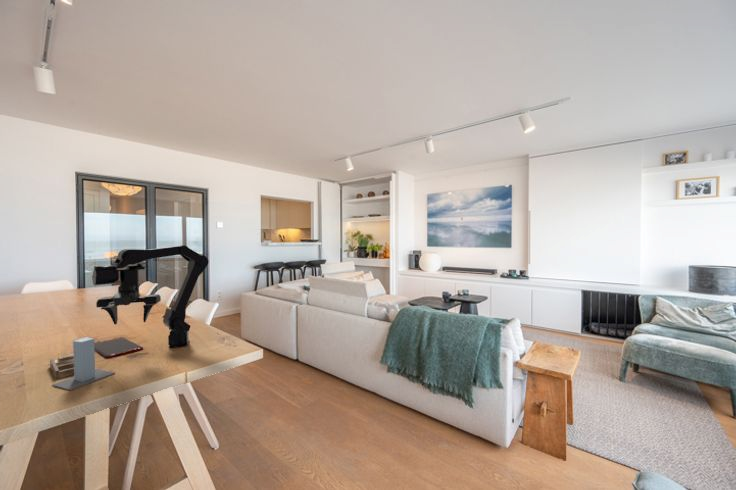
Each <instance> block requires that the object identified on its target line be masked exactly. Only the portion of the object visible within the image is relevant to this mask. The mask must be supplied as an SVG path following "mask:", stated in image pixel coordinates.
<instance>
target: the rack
mask: <svg viewBox="0 0 736 490" xmlns="http://www.w3.org/2000/svg"><path fill="white" fill-rule="evenodd" d="M55 360H58V358H56V359H53V358H52V359H50V361H49V363H50V364H49V367H50V369H51V371H52V373H53V376H54V378H55V379H56V380H57V379H61V378H65V377H69V376H72V375H73V376H74V362H73V363H68V364H64V365H60V366H57V365H56V363H55Z"/></svg>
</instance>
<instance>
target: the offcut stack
mask: <svg viewBox="0 0 736 490" xmlns="http://www.w3.org/2000/svg"><path fill="white" fill-rule="evenodd" d="M57 359H58V360H57ZM57 359H54V360H55V363H56V365H57V366H60V365H64V364H68V363H73V362H74V355H73V353H69V354H64V355H59V356H57Z"/></svg>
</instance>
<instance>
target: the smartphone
mask: <svg viewBox="0 0 736 490" xmlns="http://www.w3.org/2000/svg"><path fill="white" fill-rule="evenodd" d="M142 350H144V346H140V345H139V344H137V343H136V342H133V341H131V340H130V339H127V338H126V337H122V336H121V337H115V338H110V339H106V340H101V341H96V342H94V351H95V352H96V353H97V354H98V355H100V356H101V357H103V358H104V359H112V358H116V357H120V356H123V355H124V356H125V355H128V354H132V353H136V352H140V351H142Z"/></svg>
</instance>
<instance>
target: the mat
mask: <svg viewBox="0 0 736 490" xmlns="http://www.w3.org/2000/svg"><path fill="white" fill-rule="evenodd" d="M115 374H116V372H113V371H111V370H110V371H109V370H108V371H107V370H106V369H105V370H104V369H100V368H99V369H98V368H95V377H94V378H91V379H88V380H86V381H83V382H81V381H77V380H74V376H72V377H70V378H68V379H64V380H60V381H58V382H55V383H53V384H52V385H51V387H54V388H58V389H62V390H67V391H73V390H76V389H79V388H82V387H85V386H86V385H89V384H92V383H96V382H97V381H100V380H102V379H104V378H107V377H110V376H113V375H115Z"/></svg>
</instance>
